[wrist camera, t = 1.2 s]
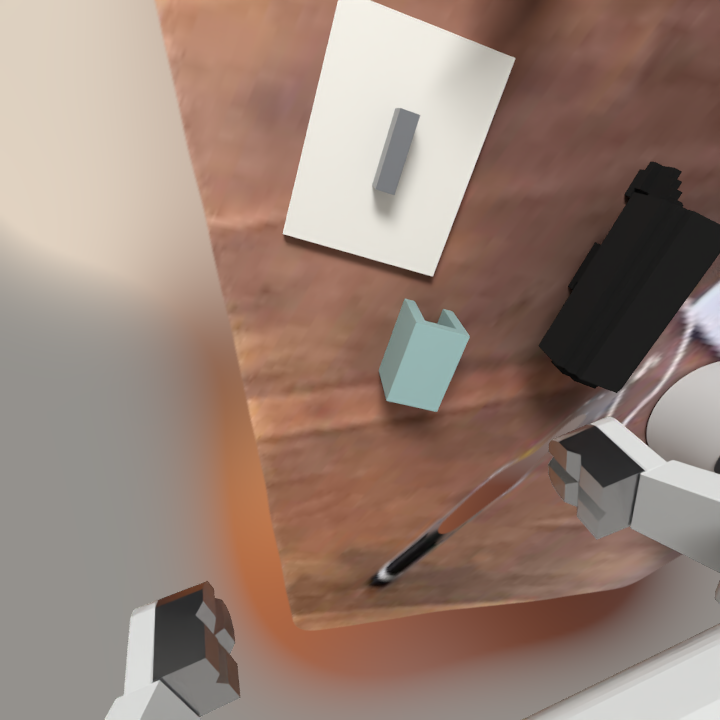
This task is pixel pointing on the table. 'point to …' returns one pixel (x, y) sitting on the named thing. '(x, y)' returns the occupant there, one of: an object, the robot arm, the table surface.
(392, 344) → the jaw block
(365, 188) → the stub plate
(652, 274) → the security camera
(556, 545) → the table surface
